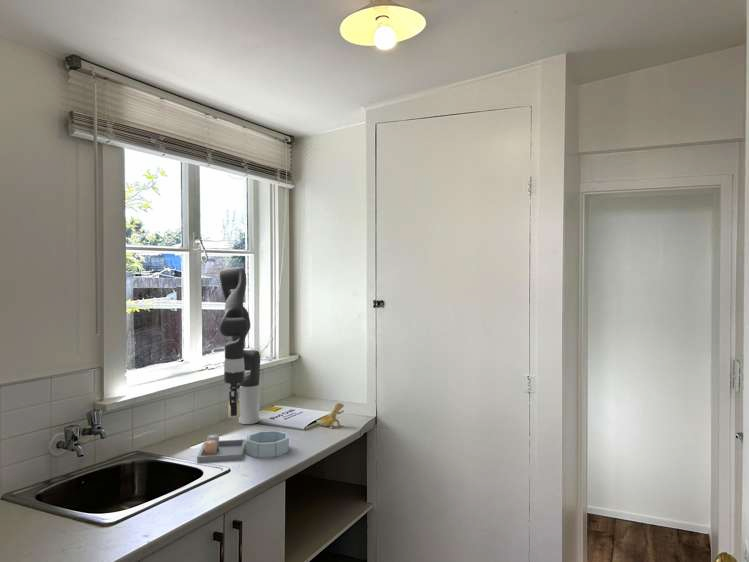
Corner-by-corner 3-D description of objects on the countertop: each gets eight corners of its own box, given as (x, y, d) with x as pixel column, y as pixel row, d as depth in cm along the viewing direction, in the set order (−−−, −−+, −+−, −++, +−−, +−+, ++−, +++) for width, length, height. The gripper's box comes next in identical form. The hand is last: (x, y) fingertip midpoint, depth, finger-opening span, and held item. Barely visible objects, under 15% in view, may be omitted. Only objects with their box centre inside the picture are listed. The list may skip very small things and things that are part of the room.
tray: (204, 446, 211) (204, 441, 211) (245, 444, 213) (245, 439, 213) (197, 462, 193) (197, 456, 193) (242, 460, 196) (242, 454, 195)
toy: (345, 424, 232) (339, 401, 235) (315, 433, 236) (310, 411, 239) (351, 423, 238) (345, 401, 241) (321, 432, 242) (316, 411, 245)
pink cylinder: (208, 448, 208) (208, 434, 208) (219, 448, 208) (219, 434, 208) (206, 452, 203) (206, 438, 203) (218, 451, 204) (218, 437, 204)
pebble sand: (229, 415, 205) (229, 401, 205) (240, 414, 206) (240, 400, 206) (227, 418, 201) (227, 403, 201) (239, 417, 202) (239, 403, 202)
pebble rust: (205, 454, 201) (205, 440, 201) (217, 454, 201) (217, 439, 201) (203, 458, 196) (203, 444, 196) (215, 458, 197) (215, 443, 197)
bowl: (248, 445, 212) (248, 431, 212) (288, 443, 215) (288, 429, 215) (245, 459, 197) (245, 444, 197) (288, 456, 199) (288, 442, 199)
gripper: (226, 366, 210) (226, 409, 210) (221, 373, 196) (222, 419, 196) (245, 366, 211) (246, 408, 211) (242, 373, 197) (242, 418, 197)
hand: (234, 413), depth 204 cm, fingers closed on pebble sand, 4 cm apart
